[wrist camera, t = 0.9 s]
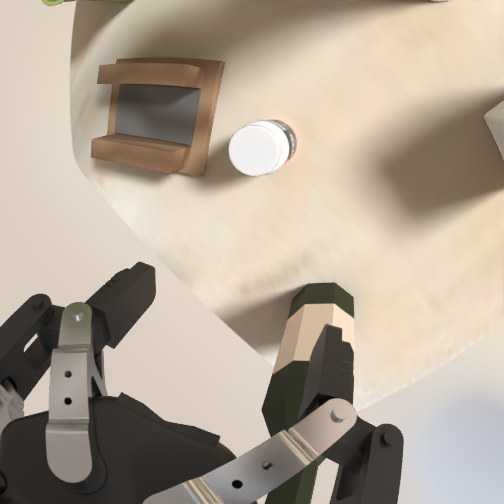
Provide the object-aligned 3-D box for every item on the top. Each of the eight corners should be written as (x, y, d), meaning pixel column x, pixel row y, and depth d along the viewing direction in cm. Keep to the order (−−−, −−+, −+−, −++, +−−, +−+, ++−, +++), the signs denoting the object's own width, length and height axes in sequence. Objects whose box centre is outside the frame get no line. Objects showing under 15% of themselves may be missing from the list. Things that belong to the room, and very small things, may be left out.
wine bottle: (284, 321, 38) (207, 545, 13) (302, 272, 34) (216, 550, 8) (341, 338, 37) (305, 563, 12) (366, 292, 33) (353, 565, 7)
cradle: (122, 60, 27) (92, 57, 22) (224, 62, 25) (202, 54, 20) (112, 154, 33) (82, 164, 29) (204, 174, 32) (180, 187, 27)
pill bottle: (287, 170, 29) (271, 191, 22) (246, 154, 29) (216, 169, 22) (304, 129, 27) (293, 134, 19) (260, 113, 27) (234, 113, 20)
